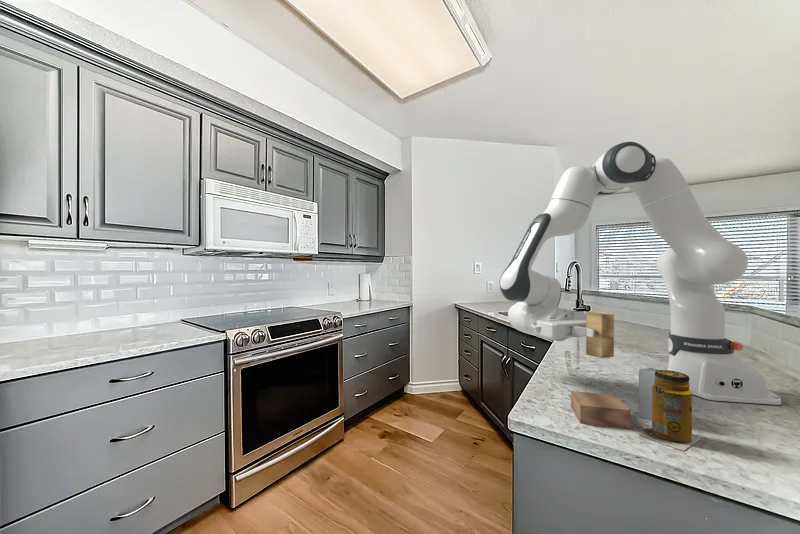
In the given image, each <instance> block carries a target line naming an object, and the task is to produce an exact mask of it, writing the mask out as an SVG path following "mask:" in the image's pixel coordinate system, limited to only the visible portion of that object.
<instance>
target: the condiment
mask: <svg viewBox="0 0 800 534" xmlns="http://www.w3.org/2000/svg"><path fill="white" fill-rule="evenodd" d="M654 374H655V379H654V384H653V385H652V421H651V425H650V426H649V427H647V428H644V429H643V430H640V431H638V432H636V434H637V435H639V436H641V437H644V438H646V439H648V440H652V441H654V442H656V443H659V444H662V445H665V446H668V447H670V448H674V449H677V450H680V451H684V452H685V450H687V449H688V448H689V447H691V446H693V445H695V444H696V443H697V442H698V441H699V440H701V437H699V436H695V435H693V429H692V428H693V426H692V425H693V394H692V392H691V390H690V389H689V387H690V383H689V380H690V379H689V376H688V375H686V374H684V373H680V372H676V371H670V370H667V369H657V371H655V373H654Z"/></svg>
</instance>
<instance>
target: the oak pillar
mask: <svg viewBox="0 0 800 534" xmlns="http://www.w3.org/2000/svg"><path fill="white" fill-rule="evenodd" d="M585 313H586V328H593V329H596V330H597V336H596V337H588V336H585V345H586V346H585V353H586V355H587V356H590V357H595V358H598V359H606V358H615V352H614V351H615V350H614V349H615V313H613V312H612V313H611V312H603V311H587V312H585Z"/></svg>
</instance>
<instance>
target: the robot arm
mask: <svg viewBox="0 0 800 534" xmlns="http://www.w3.org/2000/svg"><path fill="white" fill-rule="evenodd" d="M625 188H628V189H630V190H631V191H632V192H634V193H635V195H636V196H637V198H638V200H639V202H640V205H641V207H642V209H643V212H644V214H645V215H646V218H647V220H648V222H649V224H650V226H651V229H652V230H653V232H654V233H655V234H656V235H657V236H658V237H660V238H662V239H663V240H664V241H665V243H666V244H667V245H668V247H670V248H668V249H665V250H664V251H662V252H661V253H660V254H659V255H658V257H657V258H656V263H655V266H656V270H657V272H658V273H659V274H660V276H661V277H662V280H663V283H664V285H665V286H664V287H665V289H666V293H667V297H668V302H669V309H670V310H669V312H670V313H669V314H670V315H669V316H670V332H669V333H668V339H667V350H668V354H669V359H668V365H667V369H666V370H670V371H676V372H680V373H684V374H686V375H688V376H689V379H690V380H689V383H690V387H689V389H690V390H691V392H692V396H693V395H694V396H697V397H699V398H703V399H706V400H709V401H717V402H731V403H746V404H760V405H761V404H762V405H777V406H780V405H782V399H781V397H780V396H778V395H777V394H776V393H774V392H772V391H770V390H769V389H768V384H767V381H766V378H765V376H764V374H763V373H762V372H761V371H760V370H759V369H757V368H755V367H754V366H752V365H751V364H750V363H748V362H747V361H745V360H744V359H742V358H741V357H740V356H739V355H737V354H736V353H734V352H735V351H737V352H739V351H742V350H744V349H745V347H744V344H742V343H741V342H738V341H732V340H730V339H728V338H726V337H725V336H726V335H725V334H726V333H725V332H726V331H725V329H726V328H725V327H726V326H725V325H726V322H725V320H726V318H725V313H726V312H725V307H724V306H723V304H722V303H721V302H720V301H719V299H718V298H717V295H716V294H715V290H714V289H713V286H714V285H721V284H726V283H729V282H733V281H736V280H738V279H739V278H741V277H742V276H744V274H745V273H746V271H747V269H748V266H749V260H748V259H749V258H748V256H747V254H746V252H745V251H744V250H743V249H742V248H741V247H740V246H739V245H737V244H734V243H732V242H730V241H729V240H728V239H726V238H725V237H724V236H723V235H722V234H721V233H720V232H719V231H718V230H717V228H715V226H714V225H712V224H711V222H710V221H709V220H708V219H707V217H706V216H705V215H704V212H703V211H702V209H701V207H700V206H699V203H698V202H697V200H696V198H695V196H694V194H693V192H692V190H691V188H690V185H689V184H688V182H687V180H686V178H685V177H684V175H683V174H682V172H681V171H680V169H679V168H678V167H677V166H676V164H675V163H674V162H673V161H672V160H670V159H669V158H666V157H657V158H656V156H655V155H654V154H652V153H651V152H649V150H648V149H647V148H646V147H645V146H644V145H642V144H641V143H638V142H635V141H625V142H620V143H618V144H615V145H613V146H612V147H610V148H609V149H608V150H607V151H605V152H604V153H602V154H601V155H600V156H599V157H598V159H597V160H596V161H595V162H594V163H593V164H592V165H591V166H590V167H587V166H583V165H577V166H576V165H575V166H572V167H571V166H570V167H569V168H567V169H566V170H565V171H564V172H563V173H562V175H561V177H560V178H559V181H558V182H557V183H556V186H555V188H554V190H553V193H552V195H551V197H550V200H549V203H548V205H547V207H546V208H545V210H544V211H543V212H542V213H540V214H538V215H536V216H535V218H534V219H533V220H532V222H530V224H529V226H528V228H527V230H526V231H525V233H524V235H523V238H522V239H521V241H520V243H519V244H518V247H517V249H516V251H515V253H514V255H513V257H512V258H511V261H510V262H509V263H508V265H507V267H505V269H504V271H502V273H501V276H500V278H499V281H498V282H499V283H498V284H499V289H500V292H501V293H502V295H503V297H504V298H505V299H506V300H508V301H513V302H516V303H515V304H512V305H511V306H510V307H509V309H508V312H507V319H508V322H509V323H510V325H511V326H512V327H513V328H514V329H515V330H517V331H518V332H522V333H524V334H527V335H531V336H540V337H541V338H544V339H548V340H552V341H555V342H563V341H566V340H567V339H571V338H582V337H586V336H588V337H596V336H597V330H596V329H593V328H586V314H585V312H584V311H582V310H581V311H580V310H571V309H567V308H564V307H559V304H560V301H561V299H562V298H561V297H562V286H561V283H560V282H559V281H558V279H557V278H555V277H552V276H550V275H548V274H544V273H542V272H541V273H540V272H537V271H534V270H532V267H533V265H534V262H535V261H536V258H537V257H538V255H539V253H540V251H541V249H542V247H543V246H544V244H545V242H546V241H548V240H549V239H551V238H554V237H561V236H564V237H565V236H569V235H572V234H575V233H577V232H579V231H580V230H582V229H583V228H584V226H585V225H586V223H587V221H588V220H589V219H588V218H589V216H590V213H591V210H592V207H593V203H594V201H595V199H596V197H597V195H604V196H605V195H612V194H615V193H617V192H619V191H622V190H624V189H625Z"/></svg>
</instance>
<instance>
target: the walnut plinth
mask: <svg viewBox="0 0 800 534" xmlns="http://www.w3.org/2000/svg"><path fill="white" fill-rule="evenodd" d="M570 409H571V410H572V412H573V413H574V415H575V417H576V418H577V420H578V422H579V423H580V424H582V425H583V424H584V425H592V426H593V425H594V426H602V427H610V428H618V427H620V428H621V429H627V428H628V429H629V430H630V429H631V410H630V409H629V408H628V407H627V405H625V403H623V401H622V400H621V399H620V398H618V396H617V395H616V394H610V393H599V392H587V391H578V390H576V391H575V390H570ZM620 428H619V429H620Z"/></svg>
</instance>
